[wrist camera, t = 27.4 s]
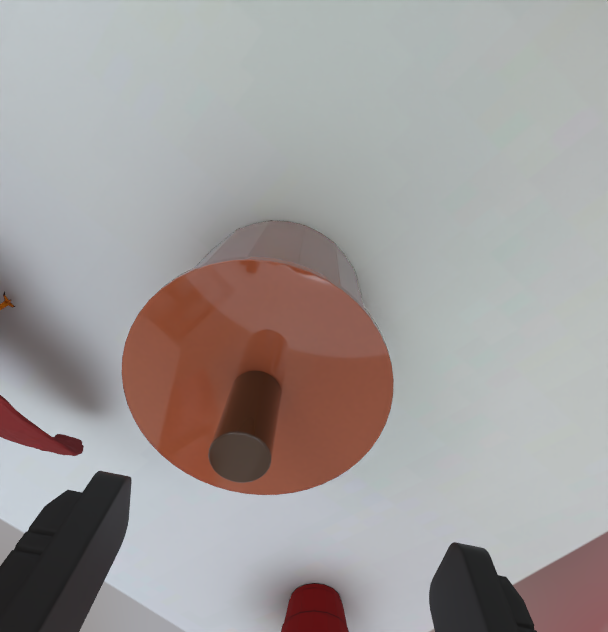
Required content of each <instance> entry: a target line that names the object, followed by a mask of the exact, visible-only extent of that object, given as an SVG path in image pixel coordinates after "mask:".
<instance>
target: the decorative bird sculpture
mask: <svg viewBox="0 0 608 632" xmlns="http://www.w3.org/2000/svg"><path fill="white" fill-rule="evenodd" d="M3 296H4V299H5V301H4V302H3V303H1V304H0V310H2V309H3V308H5V307H6V306H8V305H9V306H11V307H15V306H14V305H13V304H11V303H10V302H11V300H8V299H7V297H6V296H5V292H4V294H3ZM0 437H2V438H4V439H7V440H10V441H13V442H16V443H19V444H22V445H25V446H29V447H34V448H36V449H40V450H42V451H49V452H54V453H57V454H62V455H72V456H76V455H78V454H81V453H82V452H83V447H84V446H83V445H82V441H81V440H79V439H76V438H73V437H69V436H66V435H61V434H57V435H56V436H55V437H51V436H50V435H48V434H47V433H45V432H44V431H43V430H41V429H40V428H38V427H37V426H36V425H35V424H33V423H32V422H31V421H29V420H28V419H26V418H25V417H24V416H23V415H21V414H20V413H19V412H18V411H17V410H15V409H14V408H13V407H12V406H11V404H10V403H9V402H8V401H7V400H6V399H5V398H3V397H2V396H1V395H0Z"/></svg>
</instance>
